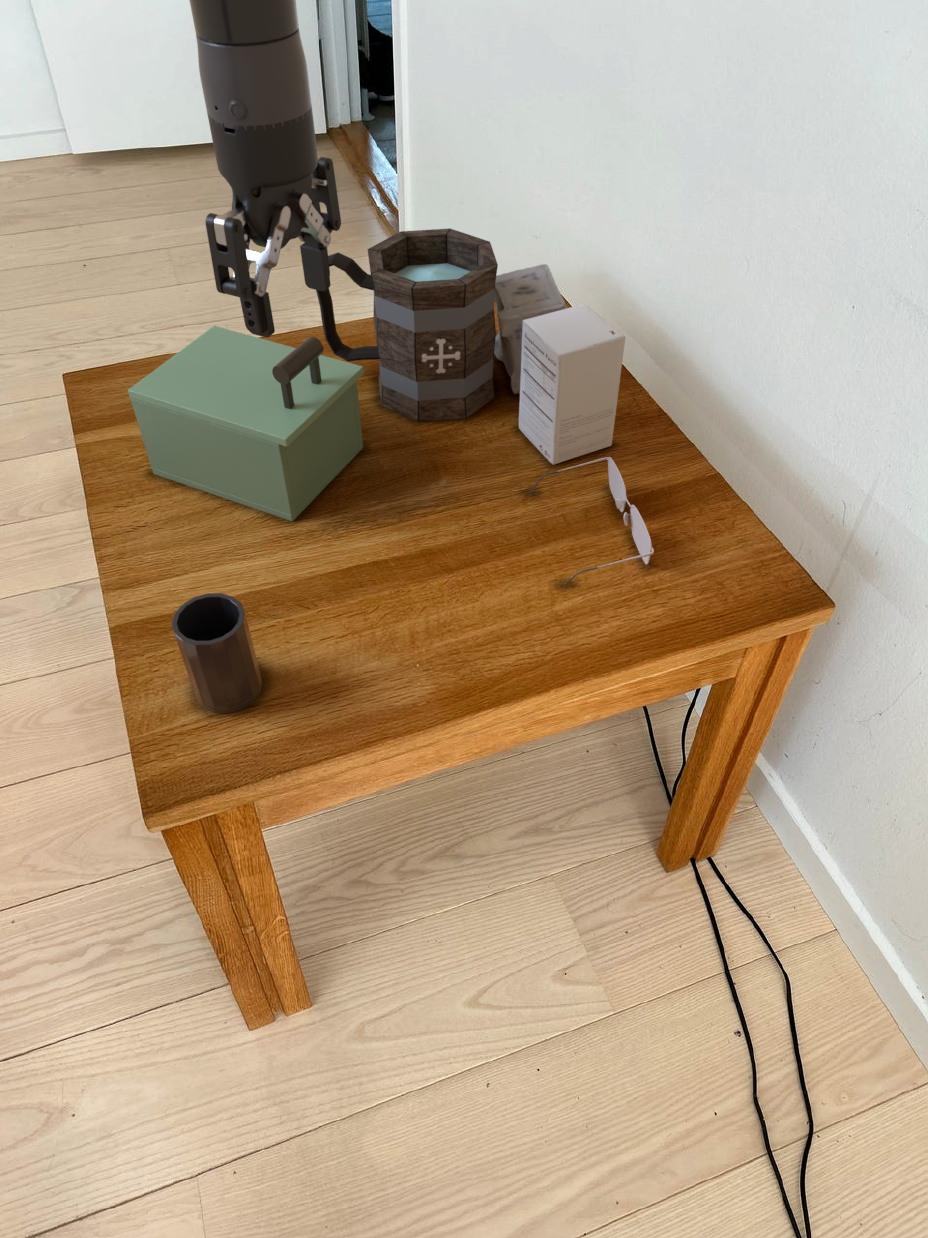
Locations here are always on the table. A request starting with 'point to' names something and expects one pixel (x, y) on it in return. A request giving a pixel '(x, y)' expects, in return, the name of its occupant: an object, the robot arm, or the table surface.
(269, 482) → the chest
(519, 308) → the incense holder
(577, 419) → the white packaging box
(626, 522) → the eyeglasses
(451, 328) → the mug
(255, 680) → the cup
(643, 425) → the table surface
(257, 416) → the lid
